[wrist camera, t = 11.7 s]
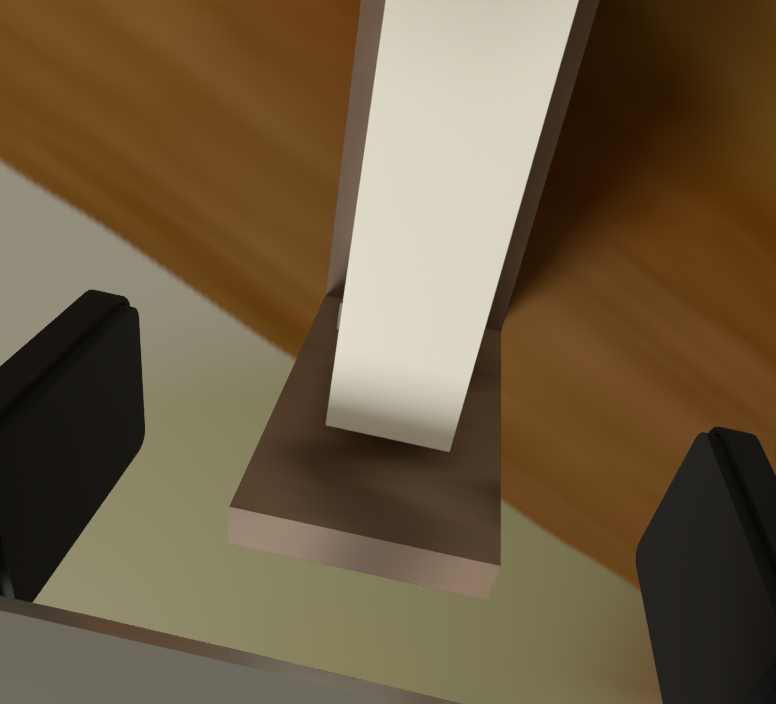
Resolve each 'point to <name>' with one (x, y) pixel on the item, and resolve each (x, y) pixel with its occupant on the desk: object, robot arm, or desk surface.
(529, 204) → the door frame
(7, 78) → the desk surface
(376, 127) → the door panel
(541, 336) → the desk surface
